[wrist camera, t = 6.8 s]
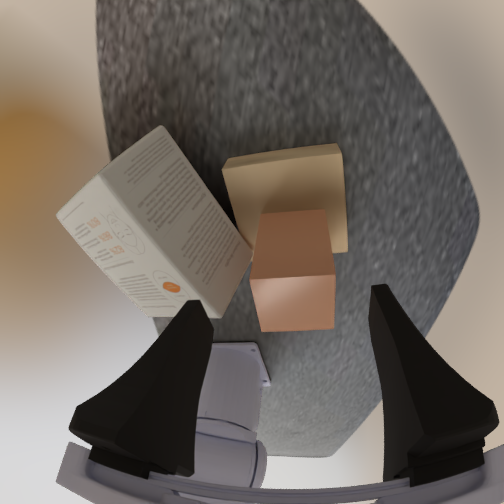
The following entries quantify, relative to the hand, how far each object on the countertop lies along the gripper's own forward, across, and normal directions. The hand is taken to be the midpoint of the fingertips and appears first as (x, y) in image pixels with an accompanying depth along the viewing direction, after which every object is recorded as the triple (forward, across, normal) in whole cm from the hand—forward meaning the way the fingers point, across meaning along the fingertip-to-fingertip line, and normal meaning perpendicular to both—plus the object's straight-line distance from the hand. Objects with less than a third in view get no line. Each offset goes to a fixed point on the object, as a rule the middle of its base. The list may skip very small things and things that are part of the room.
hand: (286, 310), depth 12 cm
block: (+8, 0, +2) cm, 8 cm away
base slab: (+10, 0, 0) cm, 10 cm away
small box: (+6, +10, -6) cm, 13 cm away
